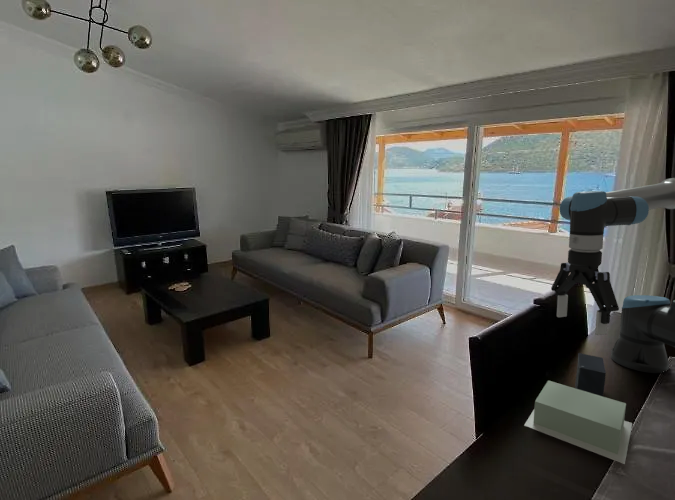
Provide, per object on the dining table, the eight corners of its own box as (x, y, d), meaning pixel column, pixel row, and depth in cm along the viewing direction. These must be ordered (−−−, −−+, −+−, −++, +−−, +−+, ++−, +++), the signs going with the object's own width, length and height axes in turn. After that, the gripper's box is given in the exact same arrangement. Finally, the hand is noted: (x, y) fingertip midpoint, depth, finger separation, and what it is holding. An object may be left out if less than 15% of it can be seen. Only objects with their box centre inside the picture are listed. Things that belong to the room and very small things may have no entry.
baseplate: (542, 397, 104) (543, 394, 104) (631, 426, 91) (632, 423, 91) (523, 428, 91) (524, 425, 91) (624, 468, 78) (624, 464, 78)
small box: (603, 408, 99) (607, 372, 97) (575, 401, 102) (578, 367, 100) (600, 389, 108) (604, 356, 106) (574, 384, 111) (577, 352, 109)
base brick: (546, 400, 101) (548, 380, 100) (623, 425, 90) (626, 403, 89) (533, 422, 92) (534, 401, 91) (617, 454, 81) (620, 430, 80)
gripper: (540, 243, 109) (537, 311, 113) (614, 259, 85) (606, 345, 88) (562, 242, 110) (558, 309, 114) (642, 257, 86) (634, 341, 89)
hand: (579, 325), depth 101 cm, fingers open, 13 cm apart
